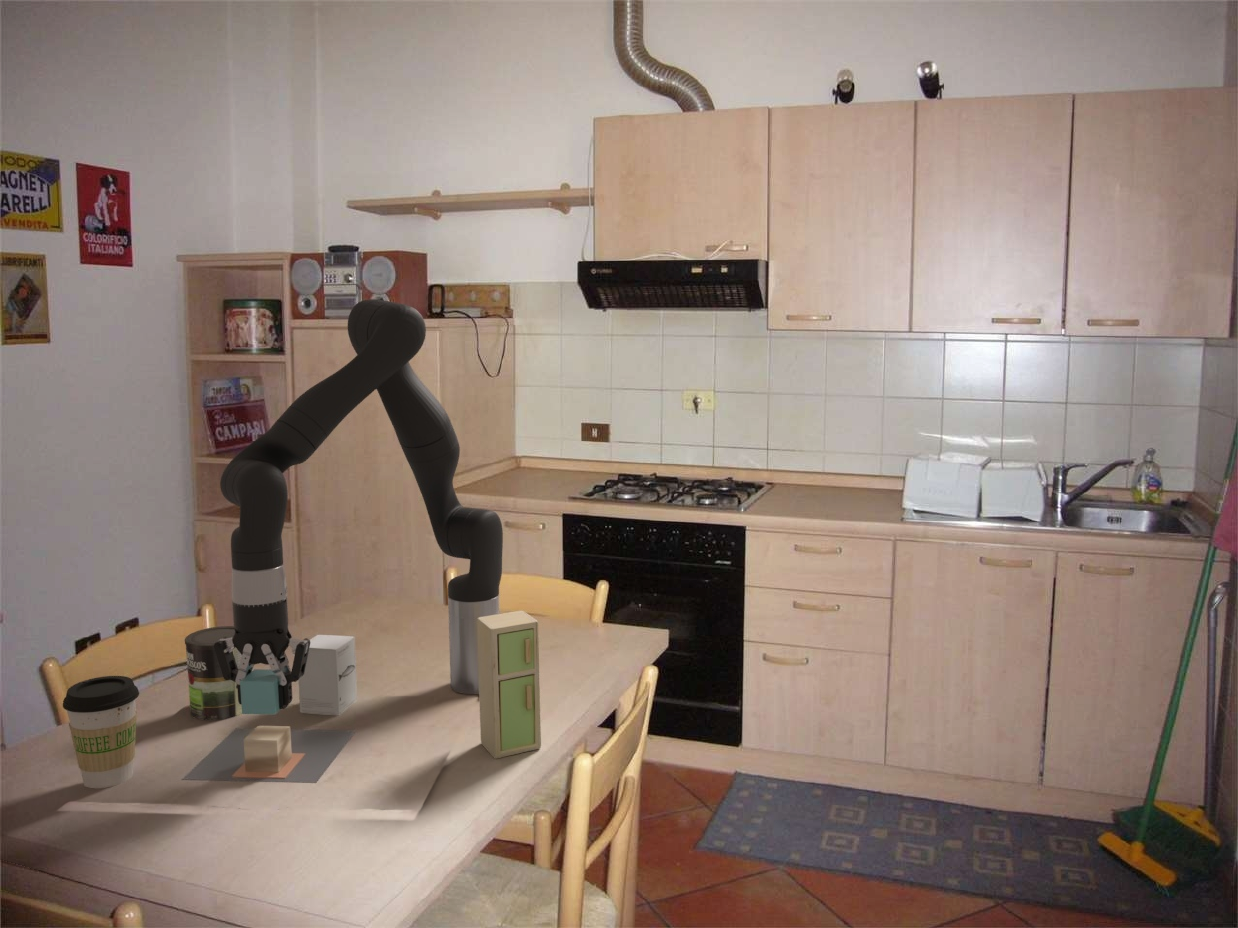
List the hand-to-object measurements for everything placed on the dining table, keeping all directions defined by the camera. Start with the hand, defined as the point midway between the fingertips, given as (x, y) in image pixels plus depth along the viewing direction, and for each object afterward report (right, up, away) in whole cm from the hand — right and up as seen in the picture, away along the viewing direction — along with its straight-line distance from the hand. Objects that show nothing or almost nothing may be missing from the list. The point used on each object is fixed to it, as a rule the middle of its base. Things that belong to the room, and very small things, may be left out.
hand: (265, 706), depth 146 cm
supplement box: (+2, -7, +24) cm, 25 cm away
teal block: (0, 0, 0) cm, 0 cm away
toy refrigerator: (+35, -9, +10) cm, 38 cm away
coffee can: (-16, -7, +23) cm, 29 cm away
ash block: (0, -9, +2) cm, 9 cm away
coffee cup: (-22, -11, -2) cm, 25 cm away
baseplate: (-1, -10, +6) cm, 11 cm away
